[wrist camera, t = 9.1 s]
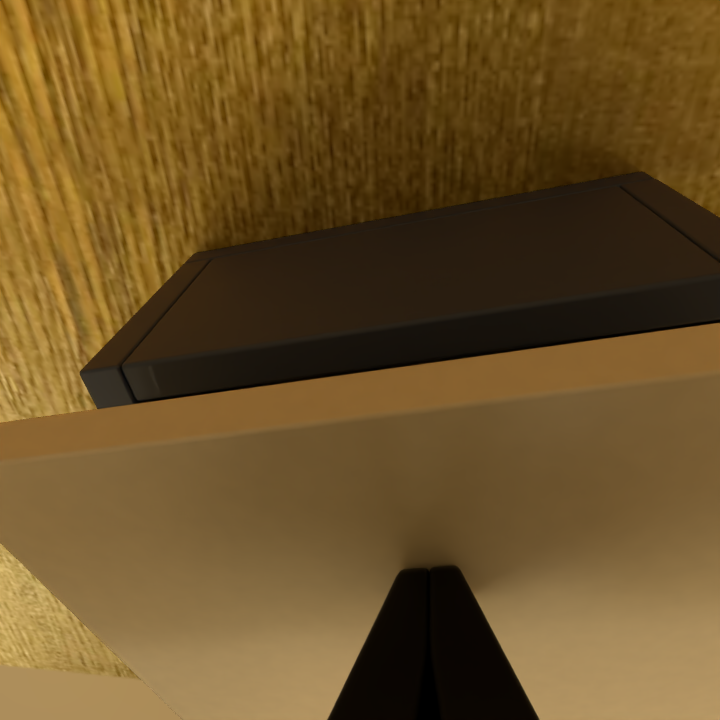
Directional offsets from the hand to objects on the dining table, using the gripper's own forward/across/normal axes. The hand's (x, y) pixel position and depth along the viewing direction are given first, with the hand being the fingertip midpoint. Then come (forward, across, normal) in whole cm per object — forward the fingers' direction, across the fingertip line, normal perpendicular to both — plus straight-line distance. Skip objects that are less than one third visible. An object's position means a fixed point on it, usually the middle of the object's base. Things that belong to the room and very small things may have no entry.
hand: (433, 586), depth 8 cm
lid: (+2, 0, +4) cm, 4 cm away
